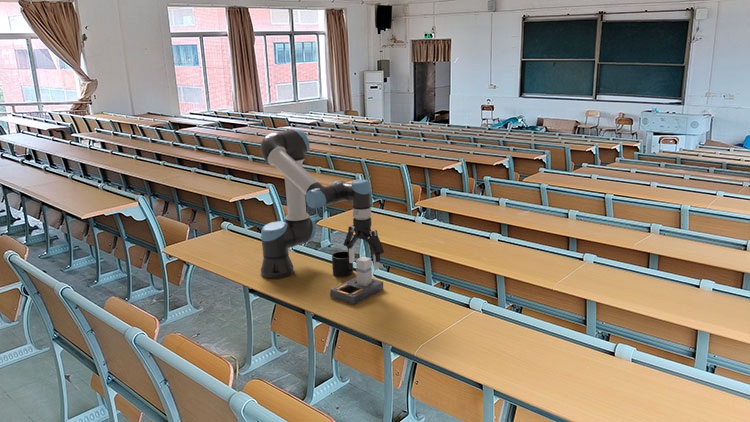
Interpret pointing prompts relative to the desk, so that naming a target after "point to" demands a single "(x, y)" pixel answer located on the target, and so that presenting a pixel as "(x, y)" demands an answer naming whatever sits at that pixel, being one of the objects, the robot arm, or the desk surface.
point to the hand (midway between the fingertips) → (364, 265)
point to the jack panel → (355, 291)
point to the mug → (341, 264)
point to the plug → (364, 271)
